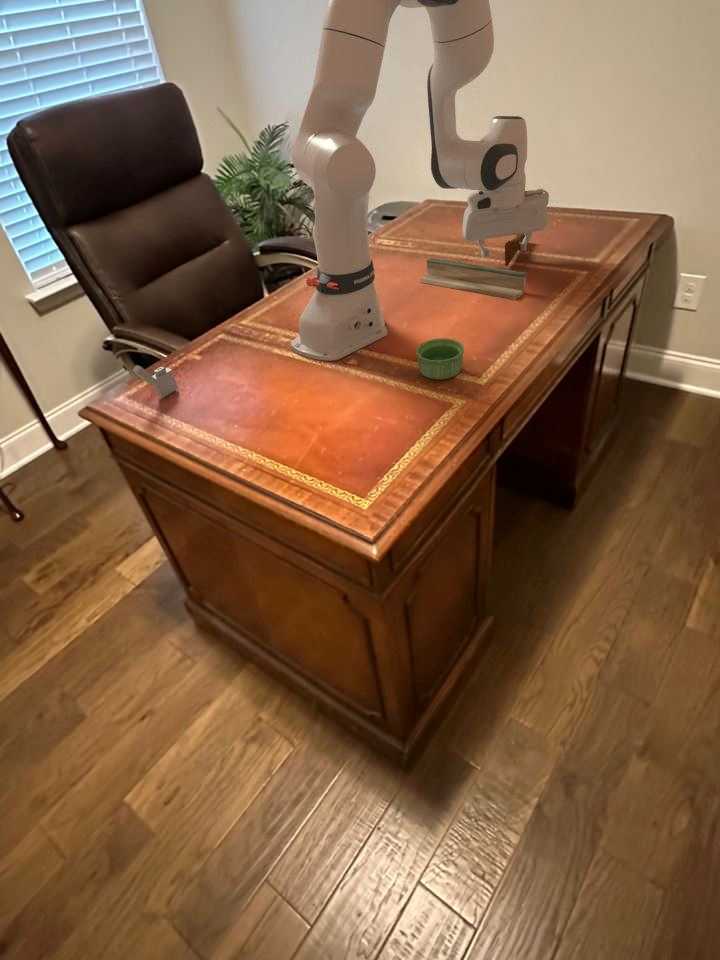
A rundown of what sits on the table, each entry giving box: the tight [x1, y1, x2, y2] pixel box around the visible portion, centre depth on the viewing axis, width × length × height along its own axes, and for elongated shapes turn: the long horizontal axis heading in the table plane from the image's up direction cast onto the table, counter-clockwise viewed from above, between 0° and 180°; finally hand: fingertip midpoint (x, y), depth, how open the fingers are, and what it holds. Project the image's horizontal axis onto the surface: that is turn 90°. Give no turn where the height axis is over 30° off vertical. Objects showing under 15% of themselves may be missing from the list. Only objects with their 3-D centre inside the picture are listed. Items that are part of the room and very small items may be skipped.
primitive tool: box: [504, 233, 525, 267], centre depth 149 cm, size 19×6×4 cm
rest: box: [420, 257, 527, 301], centre depth 139 cm, size 4×26×4 cm, turn 51°
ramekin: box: [415, 337, 465, 380], centre depth 111 cm, size 9×9×4 cm
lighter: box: [132, 364, 179, 398], centre depth 115 cm, size 7×2×8 cm, turn 143°
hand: (503, 253), depth 147 cm, fingers open, 8 cm apart
